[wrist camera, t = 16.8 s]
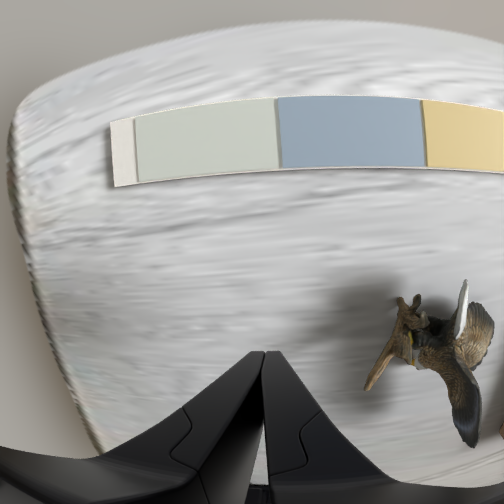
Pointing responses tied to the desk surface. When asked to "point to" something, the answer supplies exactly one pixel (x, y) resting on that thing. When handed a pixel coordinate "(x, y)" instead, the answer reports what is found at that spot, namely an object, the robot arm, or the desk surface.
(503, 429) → the dice tray
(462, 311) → the eagle figurine
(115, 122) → the track board
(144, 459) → the robot arm
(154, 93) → the desk surface
